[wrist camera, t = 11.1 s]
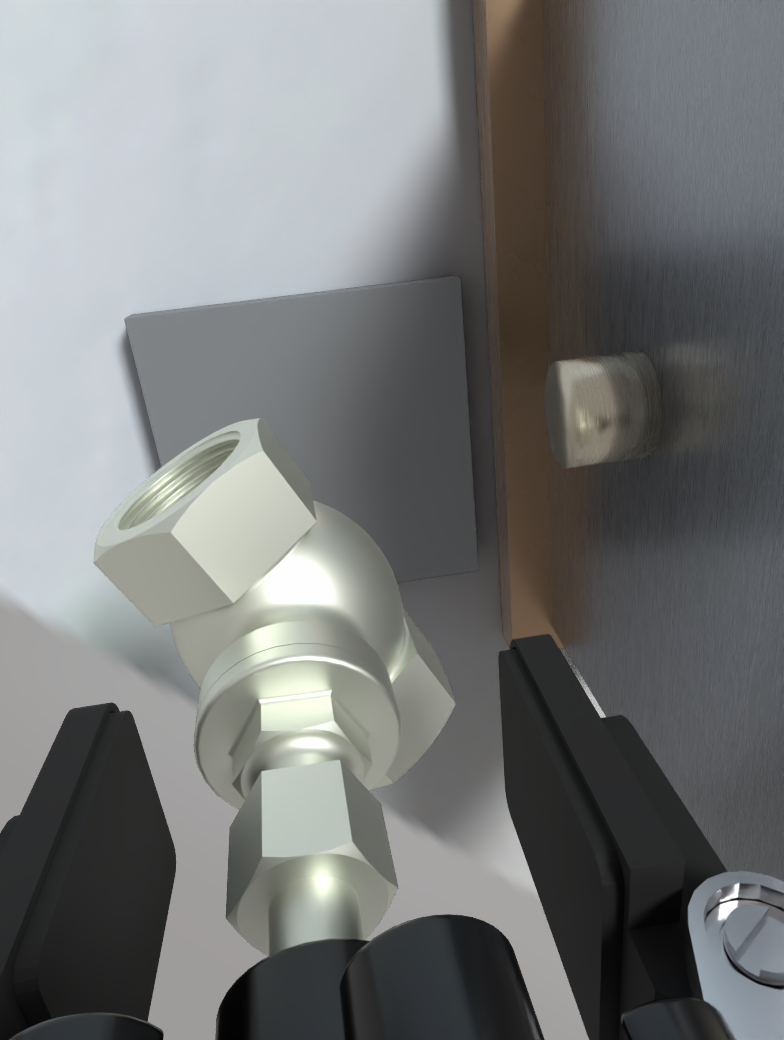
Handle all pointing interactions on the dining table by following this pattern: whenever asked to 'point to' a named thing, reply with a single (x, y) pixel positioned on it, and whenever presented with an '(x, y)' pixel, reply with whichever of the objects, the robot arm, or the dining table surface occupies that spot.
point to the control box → (645, 374)
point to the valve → (312, 760)
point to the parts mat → (334, 403)
